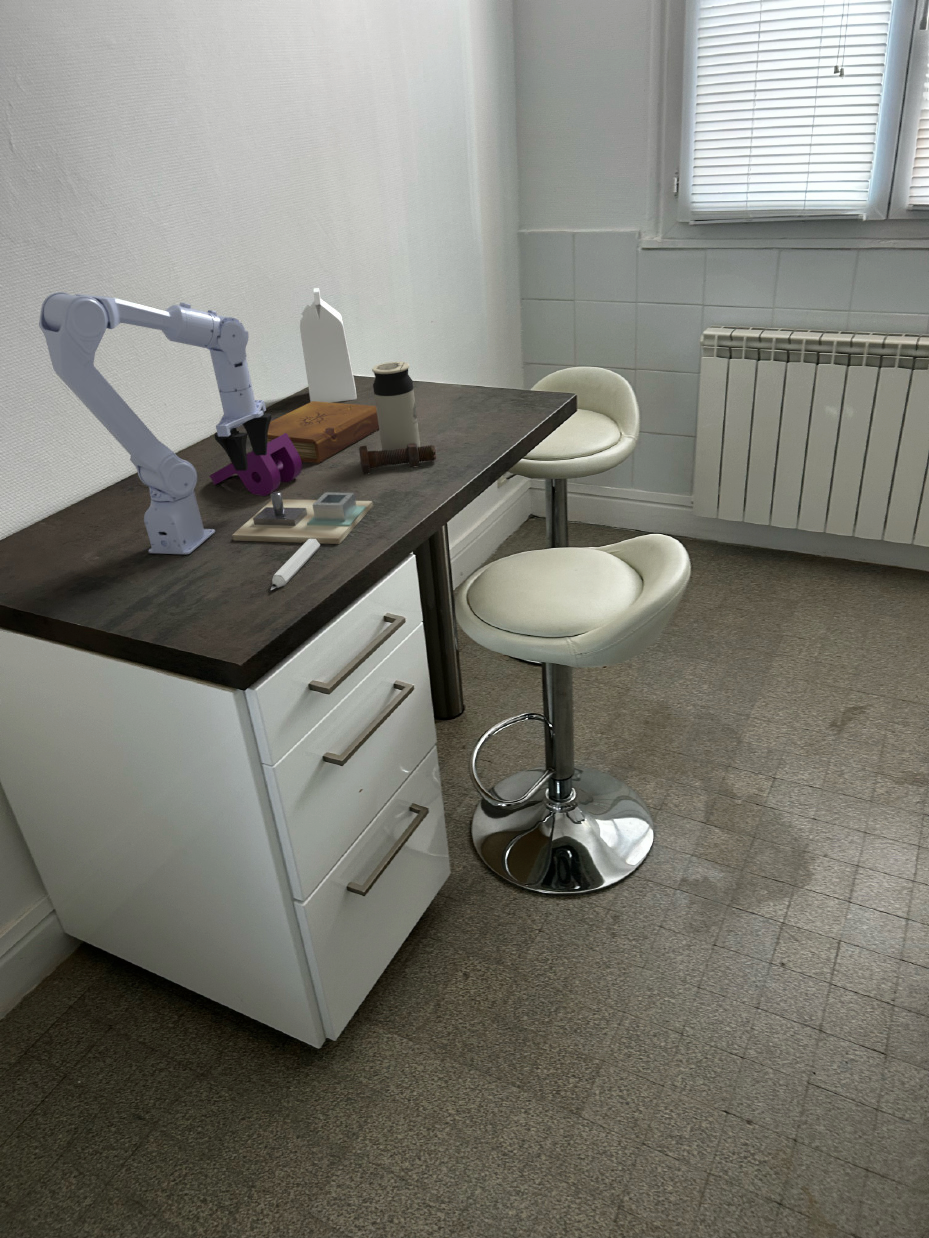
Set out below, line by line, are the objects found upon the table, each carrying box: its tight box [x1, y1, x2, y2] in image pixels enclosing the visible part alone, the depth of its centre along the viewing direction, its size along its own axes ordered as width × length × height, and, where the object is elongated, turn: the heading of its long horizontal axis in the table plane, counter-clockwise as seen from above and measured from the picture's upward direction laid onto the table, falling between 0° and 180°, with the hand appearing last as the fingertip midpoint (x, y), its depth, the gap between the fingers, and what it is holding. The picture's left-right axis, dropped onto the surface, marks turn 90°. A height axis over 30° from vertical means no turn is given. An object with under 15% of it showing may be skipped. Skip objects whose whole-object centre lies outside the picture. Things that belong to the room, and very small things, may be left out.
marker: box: [270, 539, 321, 591], centre depth 146 cm, size 3×2×16 cm
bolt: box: [358, 443, 437, 475], centre depth 183 cm, size 6×5×15 cm
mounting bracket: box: [208, 433, 303, 497], centre depth 182 cm, size 9×8×18 cm
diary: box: [247, 401, 379, 464], centre depth 201 cm, size 23×19×6 cm
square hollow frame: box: [313, 491, 357, 522], centre depth 160 cm, size 6×6×3 cm
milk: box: [299, 287, 358, 403], centre depth 228 cm, size 12×12×26 cm
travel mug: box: [371, 361, 421, 451], centre depth 186 cm, size 8×8×18 cm
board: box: [231, 498, 374, 545], centre depth 162 cm, size 16×20×1 cm
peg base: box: [253, 491, 307, 526], centre depth 161 cm, size 5×8×5 cm, turn 74°
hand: (251, 462), depth 165 cm, fingers open, 7 cm apart
